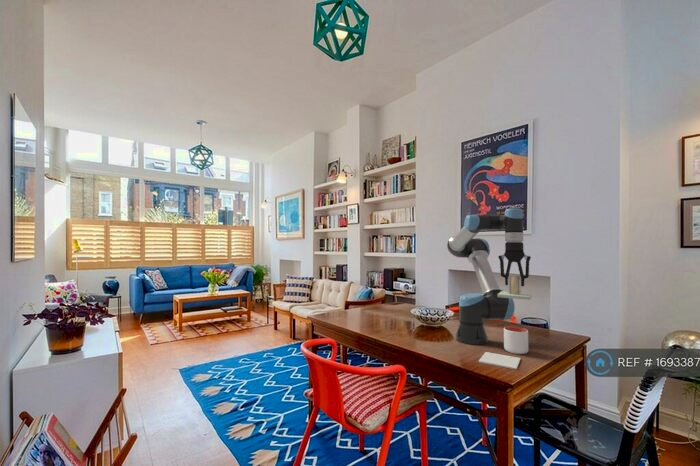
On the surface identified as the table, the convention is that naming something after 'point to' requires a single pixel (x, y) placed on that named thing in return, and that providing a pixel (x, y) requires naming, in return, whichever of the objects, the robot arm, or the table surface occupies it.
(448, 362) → the table surface
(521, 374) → the table surface
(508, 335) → the cup
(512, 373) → the table surface
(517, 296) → the lid
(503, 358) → the mat
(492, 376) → the table surface
